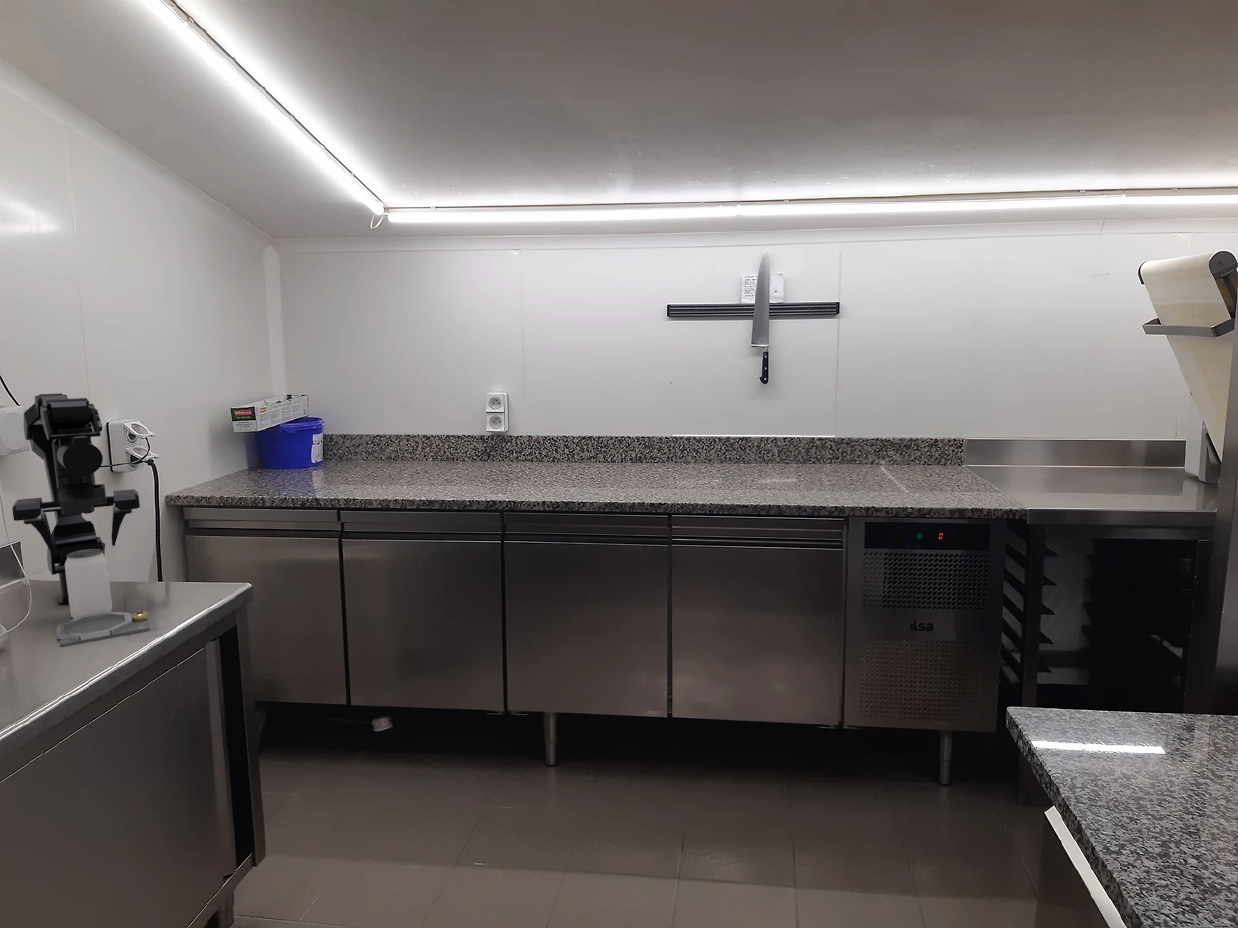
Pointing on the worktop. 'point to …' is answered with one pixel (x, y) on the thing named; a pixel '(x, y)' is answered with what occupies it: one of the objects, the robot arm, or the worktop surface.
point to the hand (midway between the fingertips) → (83, 549)
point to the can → (88, 583)
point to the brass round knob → (139, 616)
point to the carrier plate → (103, 625)
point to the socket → (115, 629)
